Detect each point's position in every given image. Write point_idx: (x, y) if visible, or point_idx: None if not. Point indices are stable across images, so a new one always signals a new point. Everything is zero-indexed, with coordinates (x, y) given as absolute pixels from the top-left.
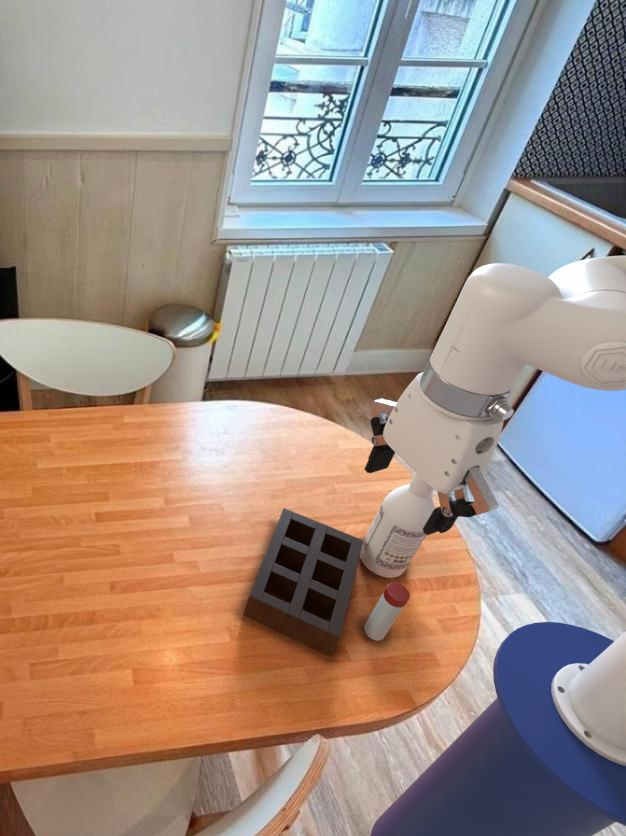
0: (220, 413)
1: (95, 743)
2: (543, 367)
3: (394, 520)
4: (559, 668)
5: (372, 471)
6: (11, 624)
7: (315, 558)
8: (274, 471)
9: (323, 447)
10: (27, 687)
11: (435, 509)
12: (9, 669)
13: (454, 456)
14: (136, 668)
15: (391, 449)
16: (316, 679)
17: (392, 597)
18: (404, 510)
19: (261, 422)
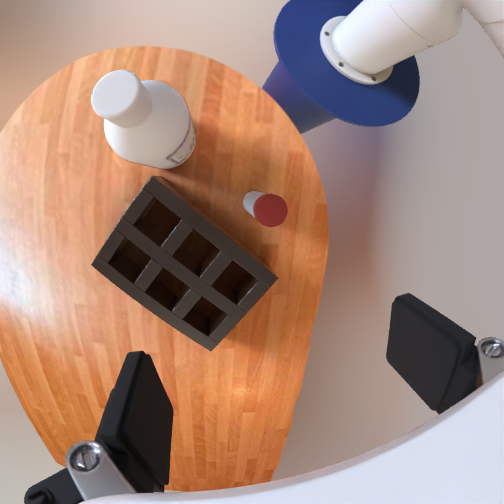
0: None
1: (284, 428)
2: None
3: (160, 158)
4: (319, 46)
5: (169, 405)
6: (199, 457)
7: (170, 259)
8: (34, 222)
9: (14, 144)
10: (242, 452)
11: (436, 409)
12: (229, 457)
13: None
14: (243, 410)
15: (143, 450)
16: (286, 287)
17: (277, 224)
18: (156, 145)
19: None
